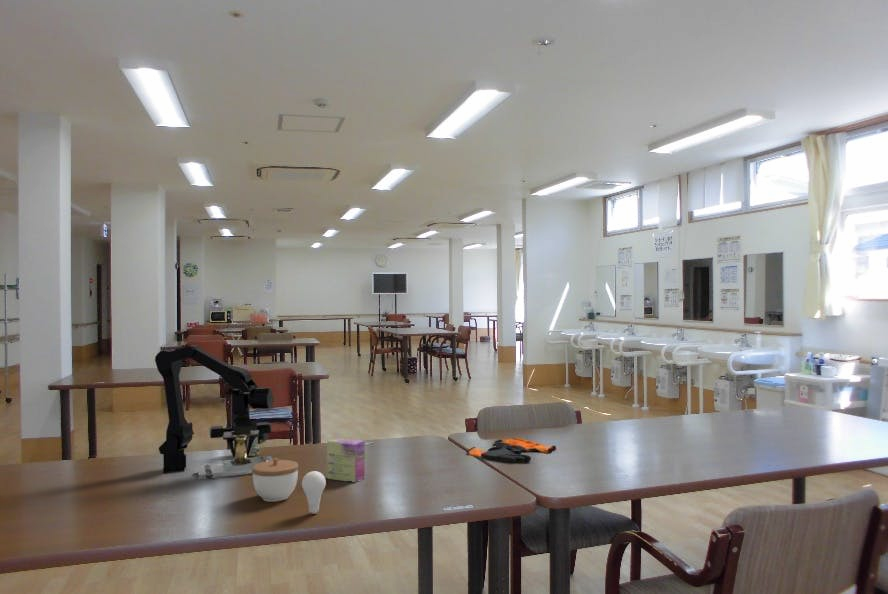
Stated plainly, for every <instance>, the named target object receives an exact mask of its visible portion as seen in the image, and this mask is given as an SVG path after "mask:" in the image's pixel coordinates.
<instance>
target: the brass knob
mask: <svg viewBox="0 0 888 594" xmlns="http://www.w3.org/2000/svg"><path fill="white" fill-rule="evenodd" d="M232 437H233V446H234V457H233V460H234V464H235V465H239V464H246V463H247V458H248V456H247V439H248V438H249V435H240V436H236V435H233V434H232Z"/></svg>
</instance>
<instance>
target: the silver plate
mask: <svg viewBox="0 0 888 594" xmlns="http://www.w3.org/2000/svg"><path fill="white" fill-rule="evenodd" d="M273 459H274V458H272V456H271V455H260V456H252V457H247V463H246V464H239V465H235V464H234V459H227V460H226V459H225V460H223V464H221V465H212V466H211V465H209V464H206V465H204V467H197V476H198V480H199V481H200V480H207V479H208V480H210V479H216V478H217V479H218V478H225V477H235V476H241V475H243V476H244V475H253V472H252V467H253V466H254V465H256V464H258V463H261V462H265V461H272V460H273Z"/></svg>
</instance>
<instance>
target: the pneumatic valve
mask: <svg viewBox="0 0 888 594" xmlns="http://www.w3.org/2000/svg"><path fill="white" fill-rule="evenodd" d="M258 434H259V437H256V438H255V439H254V441H253V443H252V446H251V449H250V452H249V455H248V456H247V457H256V455H257V456H258V454H259V453H260V447H259V445H261V444H263V443H265V442H266V441H268V439H269V438H270V437H269V436H270V433H266V434H261V433H260V432H258ZM233 435H235V433H232V436H233ZM247 440H248V439H247Z"/></svg>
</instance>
